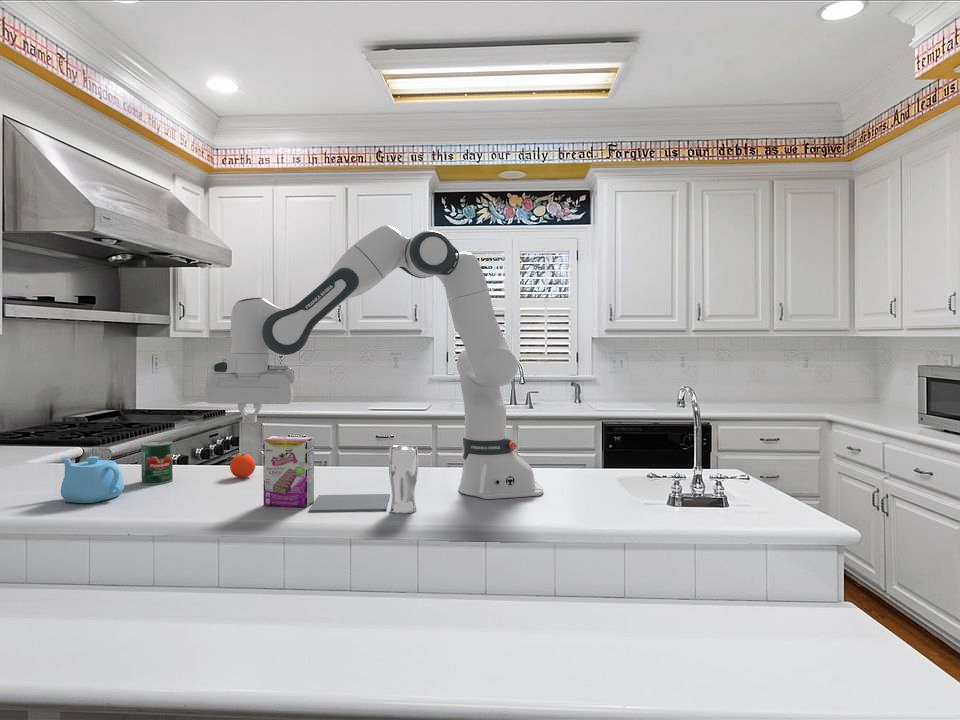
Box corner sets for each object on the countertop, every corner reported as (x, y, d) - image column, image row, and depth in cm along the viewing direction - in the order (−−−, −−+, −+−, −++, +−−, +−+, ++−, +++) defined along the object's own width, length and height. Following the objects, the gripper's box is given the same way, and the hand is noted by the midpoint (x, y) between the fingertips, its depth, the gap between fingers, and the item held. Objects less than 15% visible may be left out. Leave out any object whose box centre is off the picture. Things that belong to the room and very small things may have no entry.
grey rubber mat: (389, 495, 164) (389, 493, 164) (386, 510, 150) (386, 508, 150) (318, 496, 162) (319, 494, 162) (308, 512, 148) (308, 509, 148)
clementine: (223, 477, 184) (223, 453, 184) (245, 473, 189) (245, 449, 189) (237, 481, 179) (237, 456, 178) (260, 477, 184) (260, 453, 184)
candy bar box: (262, 506, 153) (261, 439, 152) (271, 501, 158) (270, 435, 157) (307, 508, 152) (307, 440, 151) (314, 502, 157) (314, 436, 156)
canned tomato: (155, 486, 173) (155, 445, 173) (134, 483, 176) (134, 443, 175) (179, 479, 180) (178, 441, 180) (158, 477, 183) (158, 439, 183)
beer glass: (391, 506, 154) (391, 444, 153) (419, 506, 153) (420, 445, 153) (386, 514, 147) (386, 450, 146) (416, 514, 146) (416, 450, 146)
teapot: (82, 450, 167) (138, 453, 163) (82, 490, 168) (138, 495, 163) (37, 459, 155) (96, 463, 151) (38, 502, 156) (97, 507, 151)
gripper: (296, 365, 157) (296, 420, 157) (211, 364, 155) (211, 420, 155) (291, 366, 150) (291, 424, 151) (202, 365, 149) (202, 423, 149)
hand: (249, 422), depth 153 cm, fingers closed
